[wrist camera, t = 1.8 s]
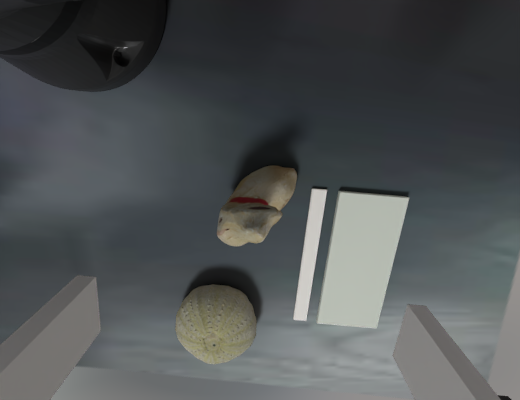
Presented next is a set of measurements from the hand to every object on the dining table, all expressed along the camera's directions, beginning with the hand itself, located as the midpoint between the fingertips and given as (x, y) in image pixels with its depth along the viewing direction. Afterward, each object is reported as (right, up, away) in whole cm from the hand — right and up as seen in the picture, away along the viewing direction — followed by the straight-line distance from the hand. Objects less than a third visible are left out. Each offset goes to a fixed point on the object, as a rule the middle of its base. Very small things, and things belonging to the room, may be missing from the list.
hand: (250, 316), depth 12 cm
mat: (+11, -2, +20) cm, 23 cm away
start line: (+6, -2, +20) cm, 21 cm away
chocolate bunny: (0, +6, +18) cm, 19 cm away
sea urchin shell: (-4, -8, +23) cm, 24 cm away
